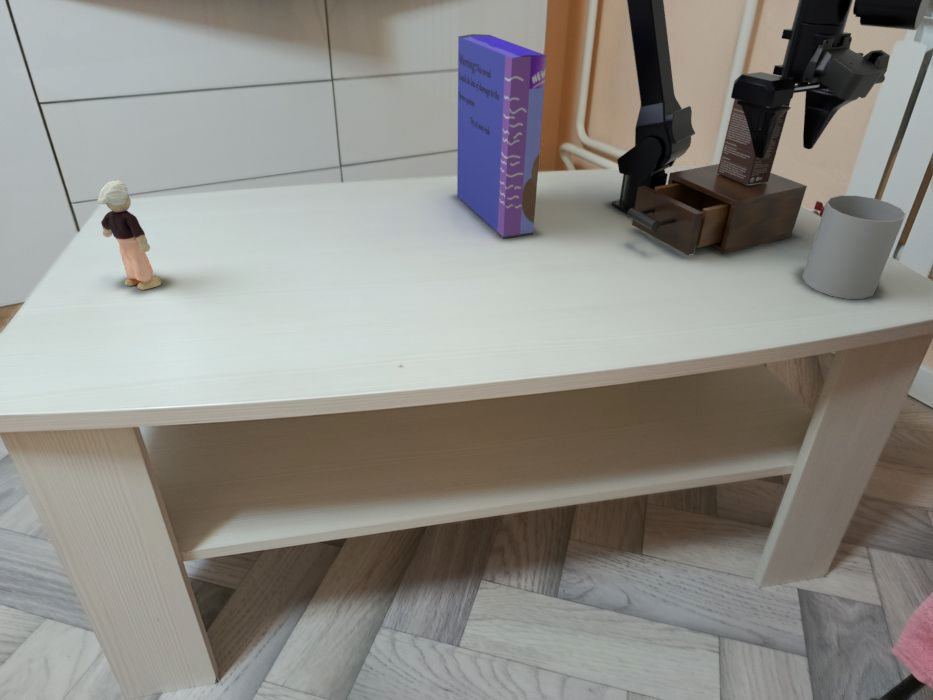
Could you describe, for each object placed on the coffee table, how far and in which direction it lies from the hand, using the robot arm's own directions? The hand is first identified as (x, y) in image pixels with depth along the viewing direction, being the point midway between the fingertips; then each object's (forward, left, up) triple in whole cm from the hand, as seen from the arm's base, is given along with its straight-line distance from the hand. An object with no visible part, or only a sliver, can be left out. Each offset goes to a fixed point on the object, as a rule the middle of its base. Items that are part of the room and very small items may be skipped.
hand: (784, 153), depth 87 cm
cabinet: (-5, -1, -13) cm, 14 cm away
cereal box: (-25, -29, -13) cm, 41 cm away
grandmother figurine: (-25, -79, -13) cm, 84 cm away
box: (-5, 0, -5) cm, 7 cm away
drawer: (-5, -10, -12) cm, 16 cm away
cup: (+14, -1, -13) cm, 19 cm away
